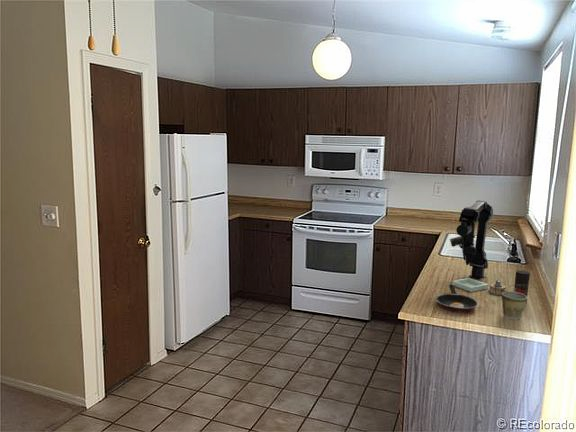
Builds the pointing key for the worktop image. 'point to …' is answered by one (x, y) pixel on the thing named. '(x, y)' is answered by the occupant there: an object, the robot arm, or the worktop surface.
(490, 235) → the worktop surface
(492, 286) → the ring
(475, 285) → the tray
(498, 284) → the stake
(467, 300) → the frying pan
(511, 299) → the ceramic cup
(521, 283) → the deodorant
